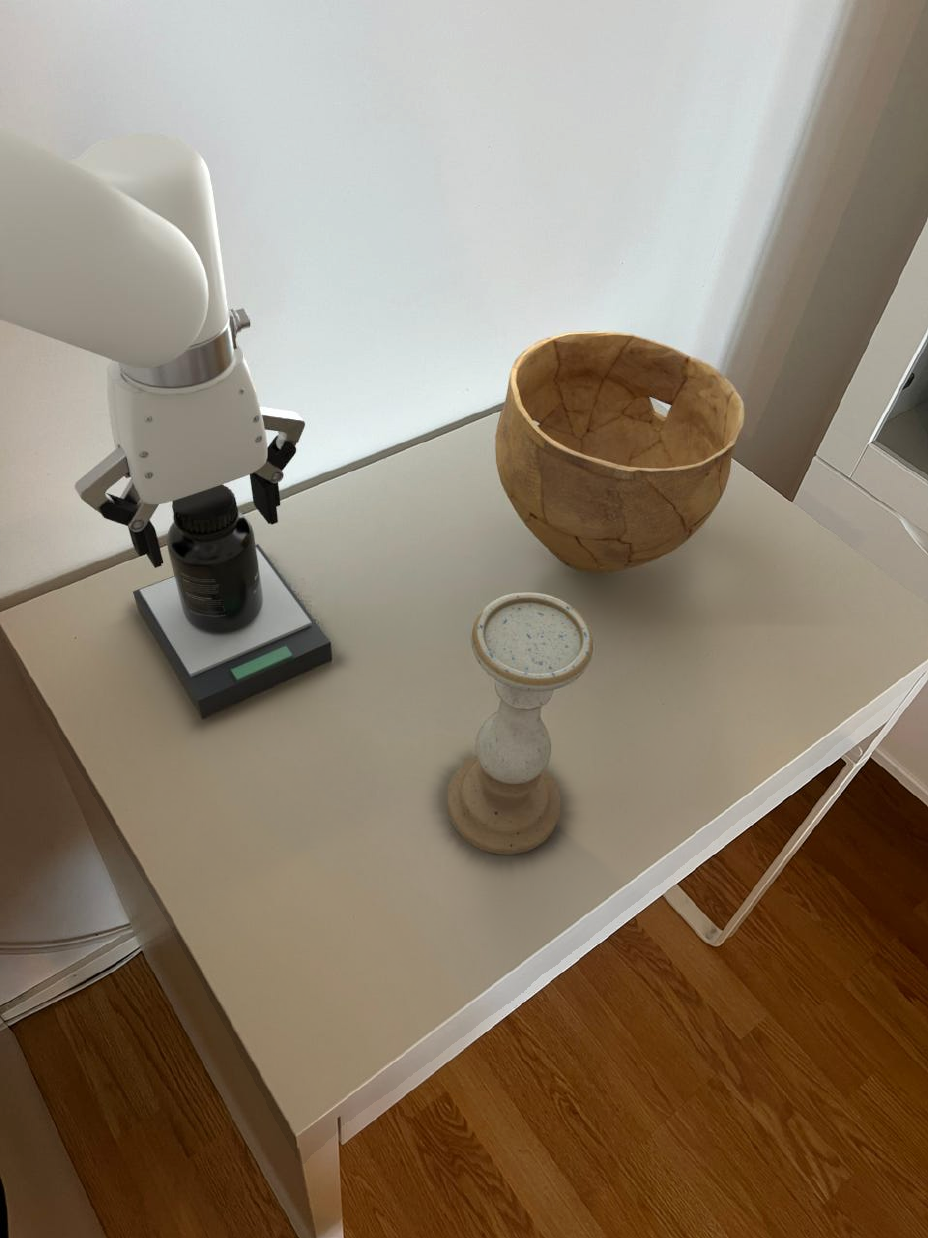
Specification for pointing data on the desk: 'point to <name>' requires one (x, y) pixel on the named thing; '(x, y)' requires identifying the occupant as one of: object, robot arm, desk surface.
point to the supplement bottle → (214, 561)
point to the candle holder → (518, 721)
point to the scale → (235, 643)
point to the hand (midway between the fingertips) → (210, 534)
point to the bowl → (614, 447)
